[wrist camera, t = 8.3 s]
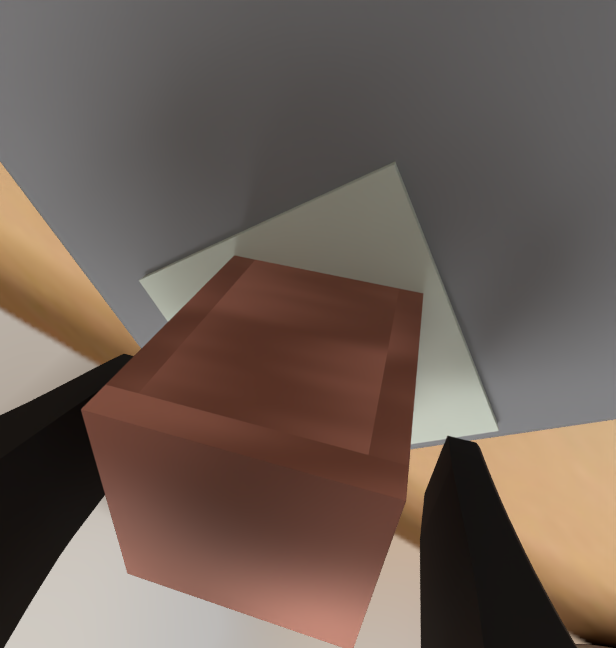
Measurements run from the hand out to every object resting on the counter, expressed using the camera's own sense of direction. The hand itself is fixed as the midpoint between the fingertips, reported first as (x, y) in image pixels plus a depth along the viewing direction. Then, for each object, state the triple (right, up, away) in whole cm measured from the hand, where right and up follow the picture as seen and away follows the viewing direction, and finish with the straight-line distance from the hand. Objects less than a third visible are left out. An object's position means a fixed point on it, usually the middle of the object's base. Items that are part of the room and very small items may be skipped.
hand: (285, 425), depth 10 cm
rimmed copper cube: (+1, +2, +2) cm, 3 cm away
